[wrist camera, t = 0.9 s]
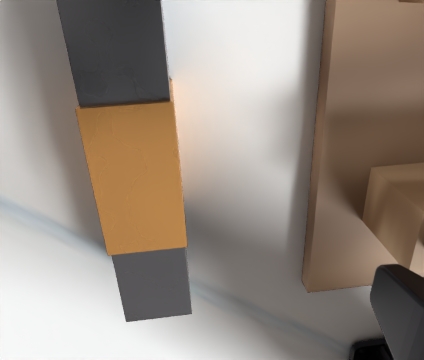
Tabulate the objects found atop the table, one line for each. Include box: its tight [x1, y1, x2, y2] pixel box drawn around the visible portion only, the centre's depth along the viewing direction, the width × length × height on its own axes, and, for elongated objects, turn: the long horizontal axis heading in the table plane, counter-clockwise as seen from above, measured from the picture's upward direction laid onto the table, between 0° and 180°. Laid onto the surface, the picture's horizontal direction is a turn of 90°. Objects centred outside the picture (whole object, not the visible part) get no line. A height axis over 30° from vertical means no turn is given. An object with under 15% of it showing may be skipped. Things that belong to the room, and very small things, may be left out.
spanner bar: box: [57, 0, 192, 322], centre depth 15 cm, size 14×3×4 cm, turn 3°
